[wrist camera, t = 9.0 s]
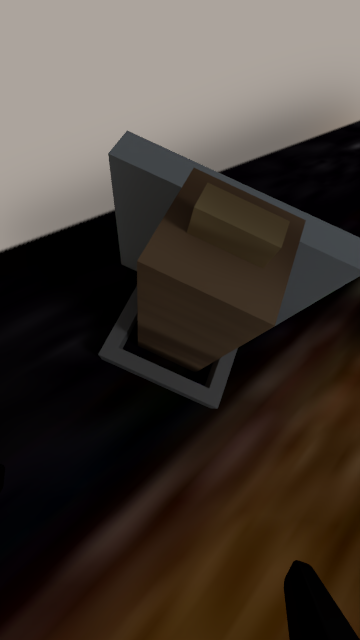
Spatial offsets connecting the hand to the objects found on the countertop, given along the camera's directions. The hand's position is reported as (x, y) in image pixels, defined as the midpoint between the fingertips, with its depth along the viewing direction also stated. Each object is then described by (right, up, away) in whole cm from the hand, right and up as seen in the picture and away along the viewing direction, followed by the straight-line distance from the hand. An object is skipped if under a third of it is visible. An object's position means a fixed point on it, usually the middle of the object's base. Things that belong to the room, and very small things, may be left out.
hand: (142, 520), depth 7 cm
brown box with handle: (+1, +5, +13) cm, 14 cm away
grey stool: (+1, +5, +13) cm, 14 cm away
